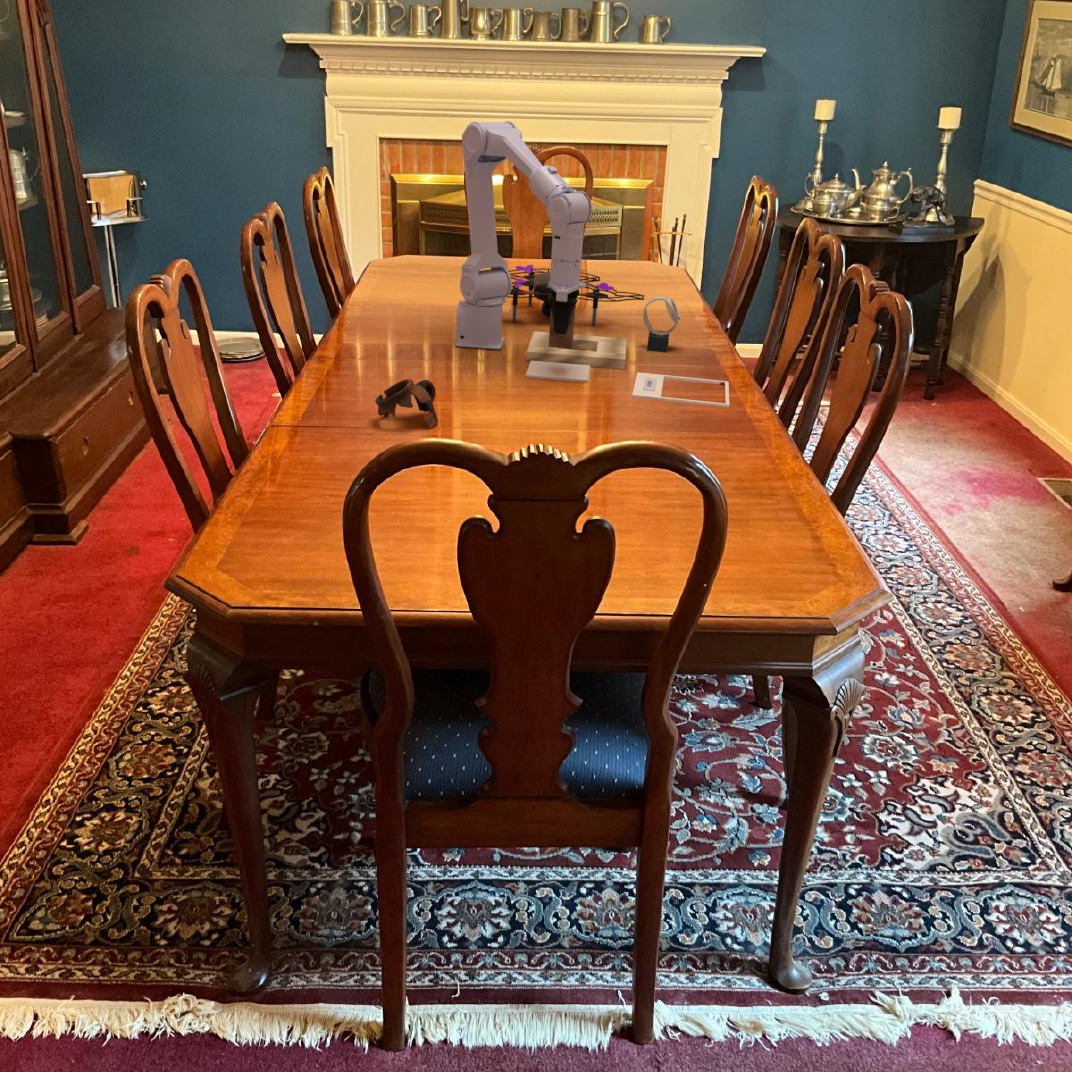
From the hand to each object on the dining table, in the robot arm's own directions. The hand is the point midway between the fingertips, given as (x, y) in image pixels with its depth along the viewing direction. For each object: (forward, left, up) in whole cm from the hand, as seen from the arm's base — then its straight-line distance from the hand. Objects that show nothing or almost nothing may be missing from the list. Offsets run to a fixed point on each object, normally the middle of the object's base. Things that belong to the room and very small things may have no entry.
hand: (561, 330), depth 206 cm
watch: (+20, +24, -9) cm, 32 cm away
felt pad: (0, 0, -8) cm, 8 cm away
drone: (-5, +46, -9) cm, 47 cm away
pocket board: (+3, +14, -8) cm, 17 cm away
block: (0, 0, -3) cm, 3 cm away
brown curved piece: (-23, -34, -9) cm, 42 cm away
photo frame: (+24, -5, -9) cm, 26 cm away
